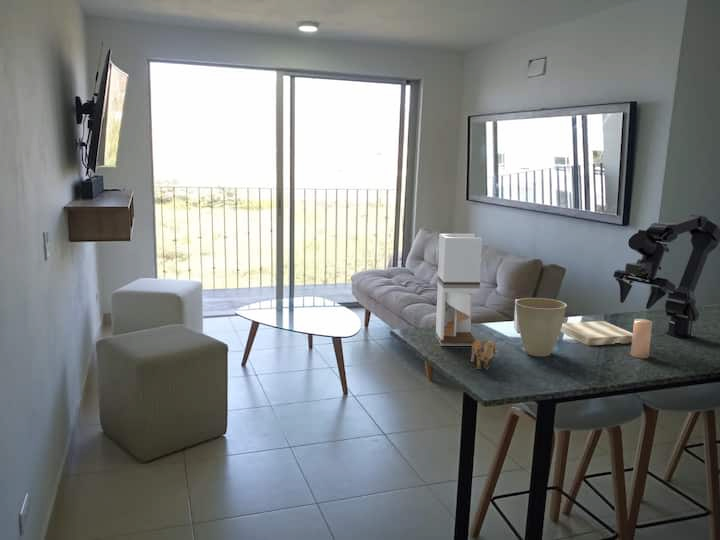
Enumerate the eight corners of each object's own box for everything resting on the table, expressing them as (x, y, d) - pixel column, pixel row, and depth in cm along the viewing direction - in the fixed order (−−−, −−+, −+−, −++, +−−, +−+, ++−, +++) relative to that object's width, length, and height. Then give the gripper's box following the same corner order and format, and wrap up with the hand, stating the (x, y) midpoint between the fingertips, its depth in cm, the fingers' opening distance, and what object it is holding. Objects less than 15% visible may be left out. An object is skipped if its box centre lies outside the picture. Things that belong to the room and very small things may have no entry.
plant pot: (561, 348, 185) (565, 299, 182) (564, 363, 171) (568, 310, 168) (512, 343, 189) (515, 296, 186) (512, 358, 175) (515, 306, 172)
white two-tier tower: (441, 347, 184) (445, 237, 178) (435, 337, 195) (439, 233, 189) (476, 347, 185) (482, 238, 179) (469, 337, 195) (474, 234, 189)
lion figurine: (499, 373, 162) (501, 342, 160) (482, 374, 160) (483, 343, 159) (477, 356, 176) (478, 327, 174) (461, 357, 175) (462, 328, 173)
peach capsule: (641, 352, 181) (644, 318, 179) (652, 357, 176) (655, 322, 175) (627, 353, 180) (630, 319, 178) (637, 358, 175) (641, 323, 173)
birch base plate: (602, 327, 209) (603, 321, 208) (636, 342, 192) (636, 335, 191) (557, 330, 205) (558, 323, 205) (587, 345, 188) (588, 338, 187)
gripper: (611, 247, 190) (594, 292, 190) (664, 256, 174) (646, 304, 174) (630, 259, 196) (614, 302, 195) (684, 268, 180) (666, 315, 179)
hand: (633, 305), depth 186 cm, fingers open, 9 cm apart
